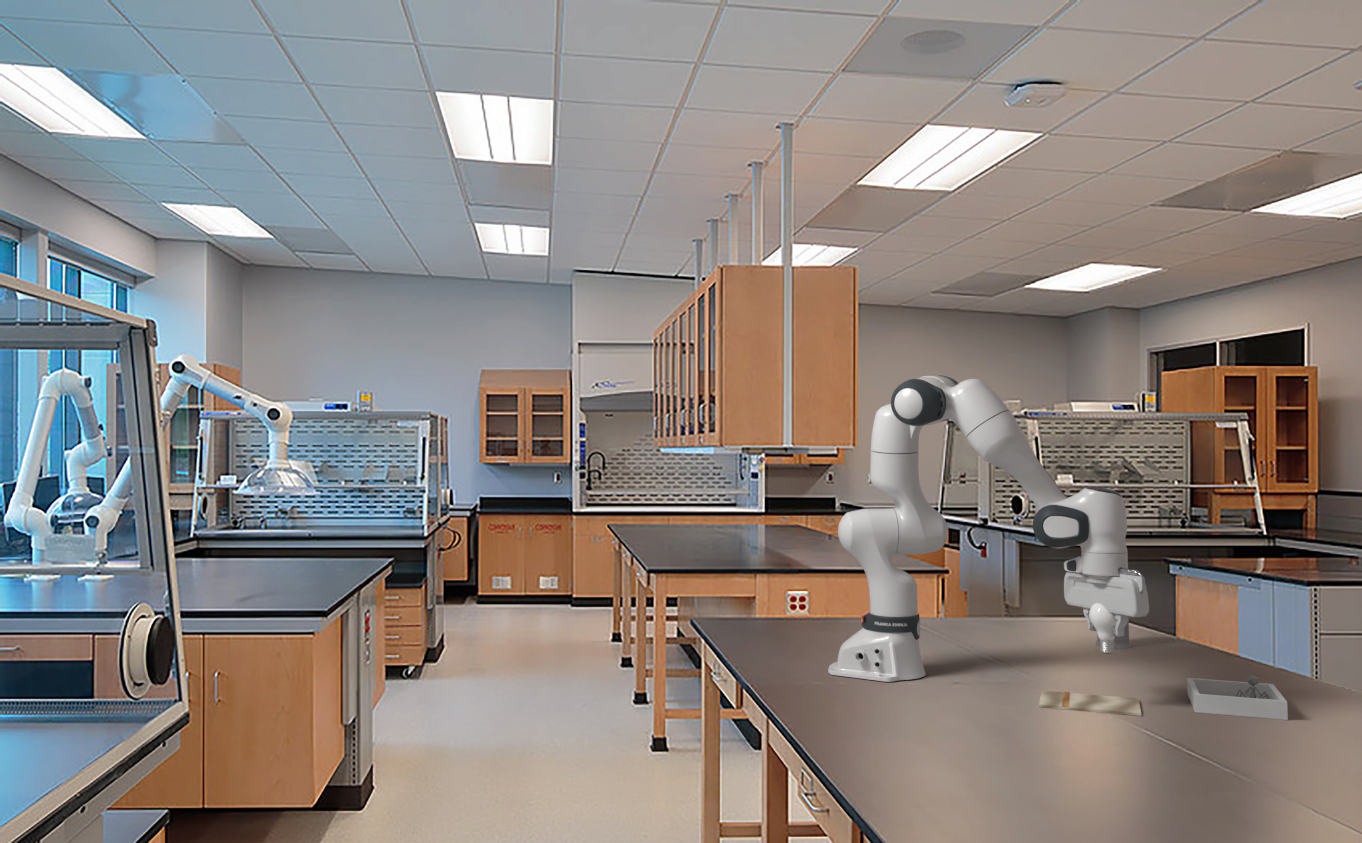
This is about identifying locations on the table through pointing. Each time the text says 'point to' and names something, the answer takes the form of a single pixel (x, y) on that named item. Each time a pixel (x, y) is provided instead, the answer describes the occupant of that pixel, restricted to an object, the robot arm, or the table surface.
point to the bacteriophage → (1253, 681)
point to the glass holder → (1120, 639)
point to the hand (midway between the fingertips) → (1105, 633)
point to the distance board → (1090, 703)
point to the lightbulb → (1103, 626)
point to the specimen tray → (1236, 699)
